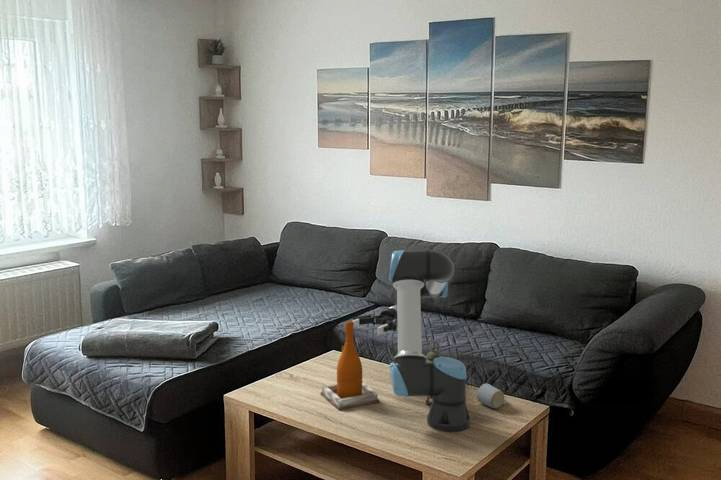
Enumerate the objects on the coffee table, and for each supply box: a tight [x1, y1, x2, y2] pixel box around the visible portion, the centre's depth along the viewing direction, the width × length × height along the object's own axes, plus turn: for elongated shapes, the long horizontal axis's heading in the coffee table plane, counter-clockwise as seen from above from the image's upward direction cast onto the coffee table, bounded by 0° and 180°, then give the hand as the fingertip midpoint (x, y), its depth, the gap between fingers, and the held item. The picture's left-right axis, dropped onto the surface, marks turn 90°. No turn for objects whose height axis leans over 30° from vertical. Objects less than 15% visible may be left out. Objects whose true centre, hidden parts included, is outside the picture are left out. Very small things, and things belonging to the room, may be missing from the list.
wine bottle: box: [336, 320, 363, 398], centre depth 291 cm, size 10×10×30 cm
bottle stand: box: [320, 381, 380, 411], centre depth 294 cm, size 17×17×4 cm
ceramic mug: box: [476, 383, 507, 409], centre depth 288 cm, size 11×8×8 cm
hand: (363, 328), depth 298 cm, fingers open, 13 cm apart
